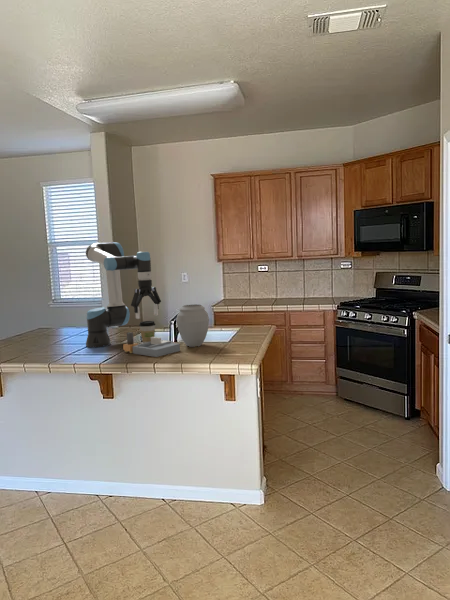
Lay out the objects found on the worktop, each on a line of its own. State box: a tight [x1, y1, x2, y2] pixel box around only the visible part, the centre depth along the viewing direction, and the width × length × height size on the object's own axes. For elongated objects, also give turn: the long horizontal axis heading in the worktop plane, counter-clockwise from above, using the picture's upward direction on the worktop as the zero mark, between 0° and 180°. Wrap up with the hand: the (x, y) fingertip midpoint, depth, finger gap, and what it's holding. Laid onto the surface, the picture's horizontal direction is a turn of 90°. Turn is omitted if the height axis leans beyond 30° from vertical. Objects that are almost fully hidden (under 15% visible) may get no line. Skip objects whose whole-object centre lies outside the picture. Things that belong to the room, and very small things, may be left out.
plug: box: [122, 331, 139, 354], centre depth 267 cm, size 6×6×11 cm
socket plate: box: [132, 340, 181, 358], centre depth 264 cm, size 20×18×5 cm
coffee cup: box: [138, 320, 156, 343], centre depth 281 cm, size 10×10×15 cm
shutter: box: [151, 336, 169, 344], centre depth 269 cm, size 8×8×4 cm
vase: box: [176, 303, 210, 348], centre depth 275 cm, size 20×20×24 cm
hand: (147, 317), depth 261 cm, fingers open, 13 cm apart
